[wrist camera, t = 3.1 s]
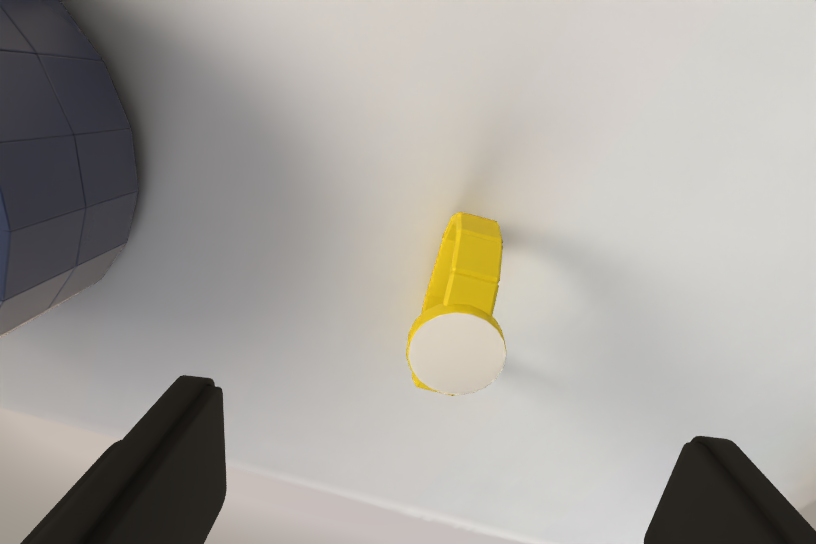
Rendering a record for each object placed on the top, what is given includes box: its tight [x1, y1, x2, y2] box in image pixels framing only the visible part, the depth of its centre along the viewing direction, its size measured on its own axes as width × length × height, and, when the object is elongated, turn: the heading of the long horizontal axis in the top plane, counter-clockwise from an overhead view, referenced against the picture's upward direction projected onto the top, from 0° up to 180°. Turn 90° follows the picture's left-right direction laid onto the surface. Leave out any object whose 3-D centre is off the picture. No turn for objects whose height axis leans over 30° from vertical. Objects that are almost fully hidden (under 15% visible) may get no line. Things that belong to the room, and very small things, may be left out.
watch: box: [406, 212, 506, 396], centre depth 15 cm, size 6×3×6 cm, turn 166°
